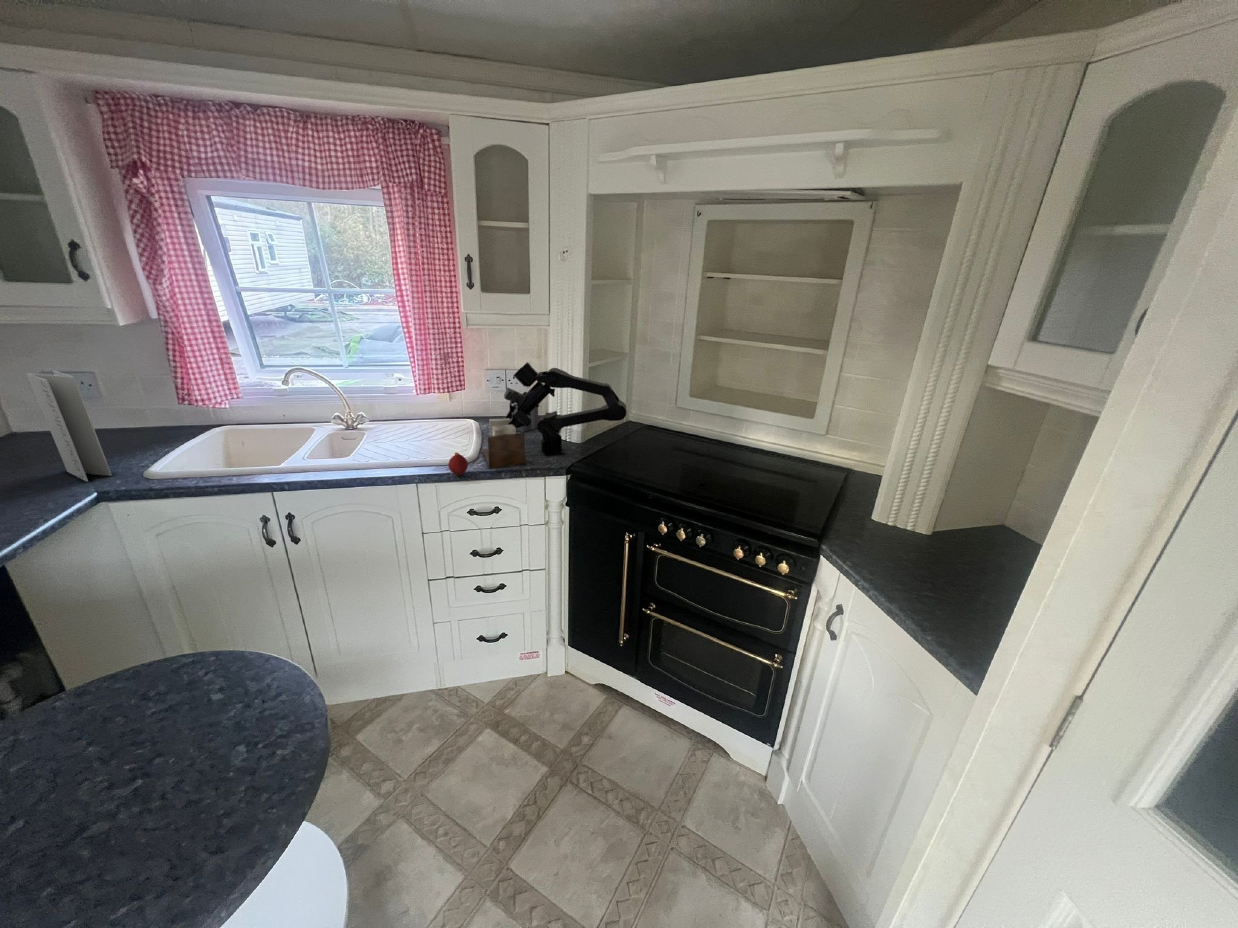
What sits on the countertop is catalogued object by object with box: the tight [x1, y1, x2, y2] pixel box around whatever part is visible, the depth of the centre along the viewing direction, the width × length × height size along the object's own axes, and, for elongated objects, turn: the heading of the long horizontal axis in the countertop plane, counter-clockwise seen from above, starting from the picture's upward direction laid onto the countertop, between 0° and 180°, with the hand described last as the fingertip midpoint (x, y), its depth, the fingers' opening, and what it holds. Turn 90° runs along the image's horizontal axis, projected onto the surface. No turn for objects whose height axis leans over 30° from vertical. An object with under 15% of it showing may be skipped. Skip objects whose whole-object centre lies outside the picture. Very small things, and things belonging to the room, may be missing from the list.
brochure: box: [26, 370, 113, 483], centre depth 143 cm, size 14×6×30 cm, turn 62°
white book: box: [488, 418, 510, 436], centre depth 174 cm, size 2×7×12 cm, turn 106°
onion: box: [448, 451, 469, 477], centre depth 157 cm, size 6×6×8 cm
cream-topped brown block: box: [482, 424, 526, 469], centre depth 171 cm, size 12×16×13 cm
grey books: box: [509, 402, 539, 433], centre depth 203 cm, size 9×7×13 cm
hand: (503, 427), depth 174 cm, fingers open, 8 cm apart
